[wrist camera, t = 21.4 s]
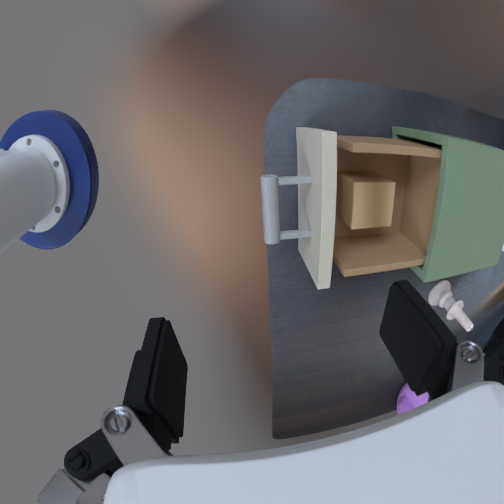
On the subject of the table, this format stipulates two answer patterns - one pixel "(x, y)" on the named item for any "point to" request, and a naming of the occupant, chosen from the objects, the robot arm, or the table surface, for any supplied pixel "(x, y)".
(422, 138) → the cabinet
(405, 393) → the teapot
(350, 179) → the block
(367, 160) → the drawer
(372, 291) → the table surface
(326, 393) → the table surface
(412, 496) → the robot arm
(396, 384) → the table surface
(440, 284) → the candle
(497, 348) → the headphones
